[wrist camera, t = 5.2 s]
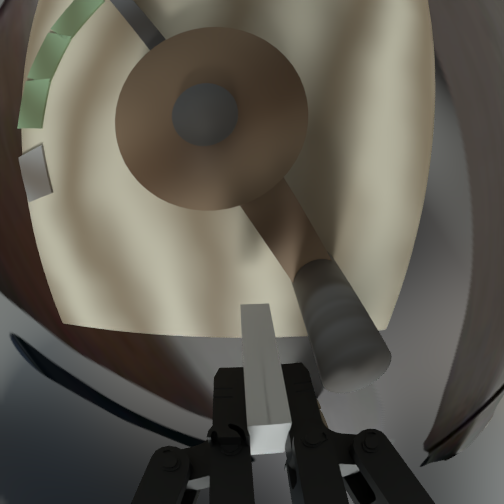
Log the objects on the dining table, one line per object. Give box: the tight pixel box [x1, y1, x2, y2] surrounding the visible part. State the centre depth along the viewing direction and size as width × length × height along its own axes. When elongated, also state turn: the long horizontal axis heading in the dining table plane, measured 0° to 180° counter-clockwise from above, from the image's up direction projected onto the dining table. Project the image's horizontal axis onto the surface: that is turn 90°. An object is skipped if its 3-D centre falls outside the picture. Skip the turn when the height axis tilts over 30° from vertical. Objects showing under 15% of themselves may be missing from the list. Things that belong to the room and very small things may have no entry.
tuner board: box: [18, 0, 435, 338], centre depth 13 cm, size 26×28×1 cm
